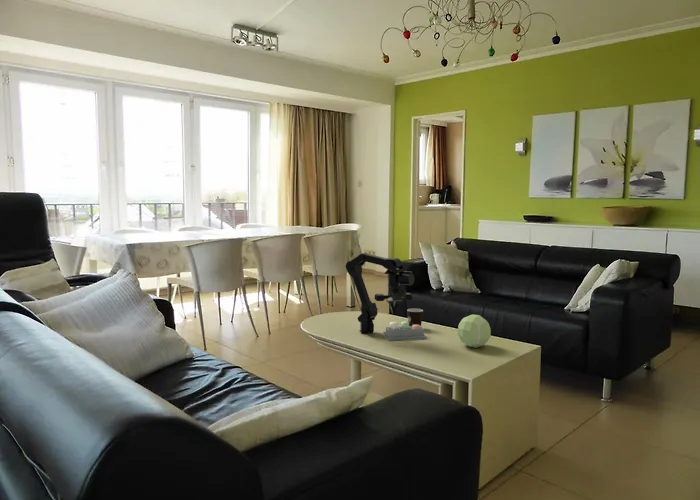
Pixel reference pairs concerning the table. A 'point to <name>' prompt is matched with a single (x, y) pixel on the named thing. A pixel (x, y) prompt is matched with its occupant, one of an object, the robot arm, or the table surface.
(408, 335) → the grey compartment tray
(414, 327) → the terracotta button
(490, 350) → the table surface
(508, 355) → the table surface
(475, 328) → the decorative sphere
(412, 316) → the coffee mug
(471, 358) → the table surface
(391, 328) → the ivory button
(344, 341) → the table surface
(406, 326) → the sage button
